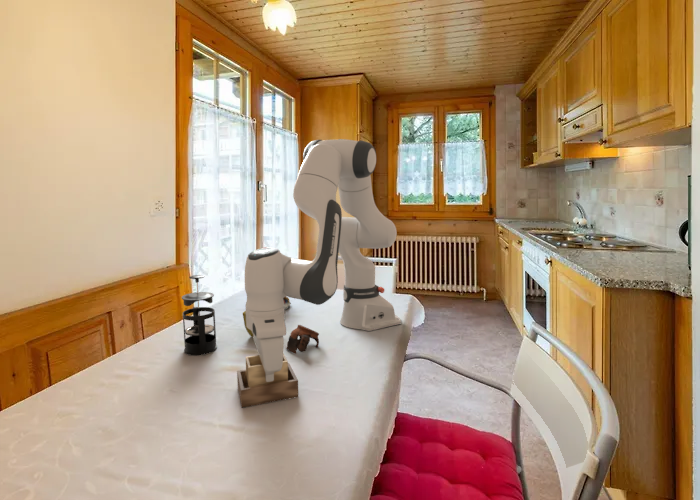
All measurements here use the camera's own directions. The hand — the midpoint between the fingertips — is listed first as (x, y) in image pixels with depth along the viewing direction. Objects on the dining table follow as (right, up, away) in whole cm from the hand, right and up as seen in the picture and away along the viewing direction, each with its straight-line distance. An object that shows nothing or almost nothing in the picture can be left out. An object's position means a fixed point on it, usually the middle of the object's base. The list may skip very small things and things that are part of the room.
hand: (266, 373), depth 91 cm
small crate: (0, -2, 0) cm, 2 cm away
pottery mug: (+5, -1, +26) cm, 26 cm away
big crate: (0, -5, +1) cm, 5 cm away
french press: (-26, -1, +26) cm, 37 cm away
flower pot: (-10, +1, +37) cm, 39 cm away
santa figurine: (-12, +6, +70) cm, 72 cm away
